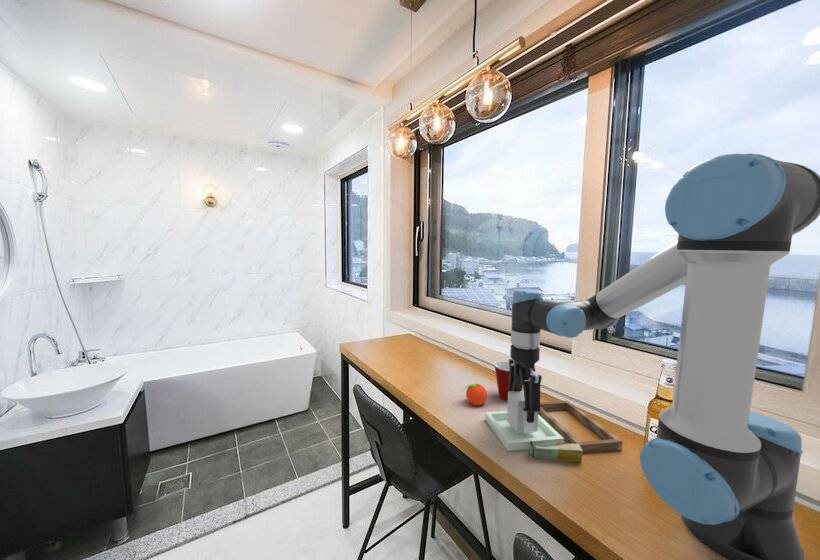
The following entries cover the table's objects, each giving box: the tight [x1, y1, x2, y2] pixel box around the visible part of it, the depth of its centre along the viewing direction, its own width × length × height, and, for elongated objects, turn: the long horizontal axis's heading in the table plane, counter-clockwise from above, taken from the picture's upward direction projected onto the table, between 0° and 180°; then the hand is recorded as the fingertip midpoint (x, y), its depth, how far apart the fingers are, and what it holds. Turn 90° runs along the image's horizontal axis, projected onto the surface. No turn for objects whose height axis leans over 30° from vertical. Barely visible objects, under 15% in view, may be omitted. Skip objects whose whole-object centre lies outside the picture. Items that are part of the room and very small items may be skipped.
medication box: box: [528, 441, 583, 463], centre depth 78 cm, size 12×3×4 cm, turn 84°
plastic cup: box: [493, 360, 510, 402], centre depth 111 cm, size 11×11×12 cm
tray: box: [484, 410, 565, 452], centre depth 89 cm, size 15×15×3 cm
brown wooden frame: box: [538, 400, 623, 454], centre depth 92 cm, size 22×12×2 cm, turn 8°
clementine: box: [462, 383, 488, 406], centre depth 106 cm, size 8×7×7 cm
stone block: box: [506, 390, 538, 433], centre depth 88 cm, size 6×6×9 cm
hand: (521, 425), depth 89 cm, fingers closed on stone block, 6 cm apart
